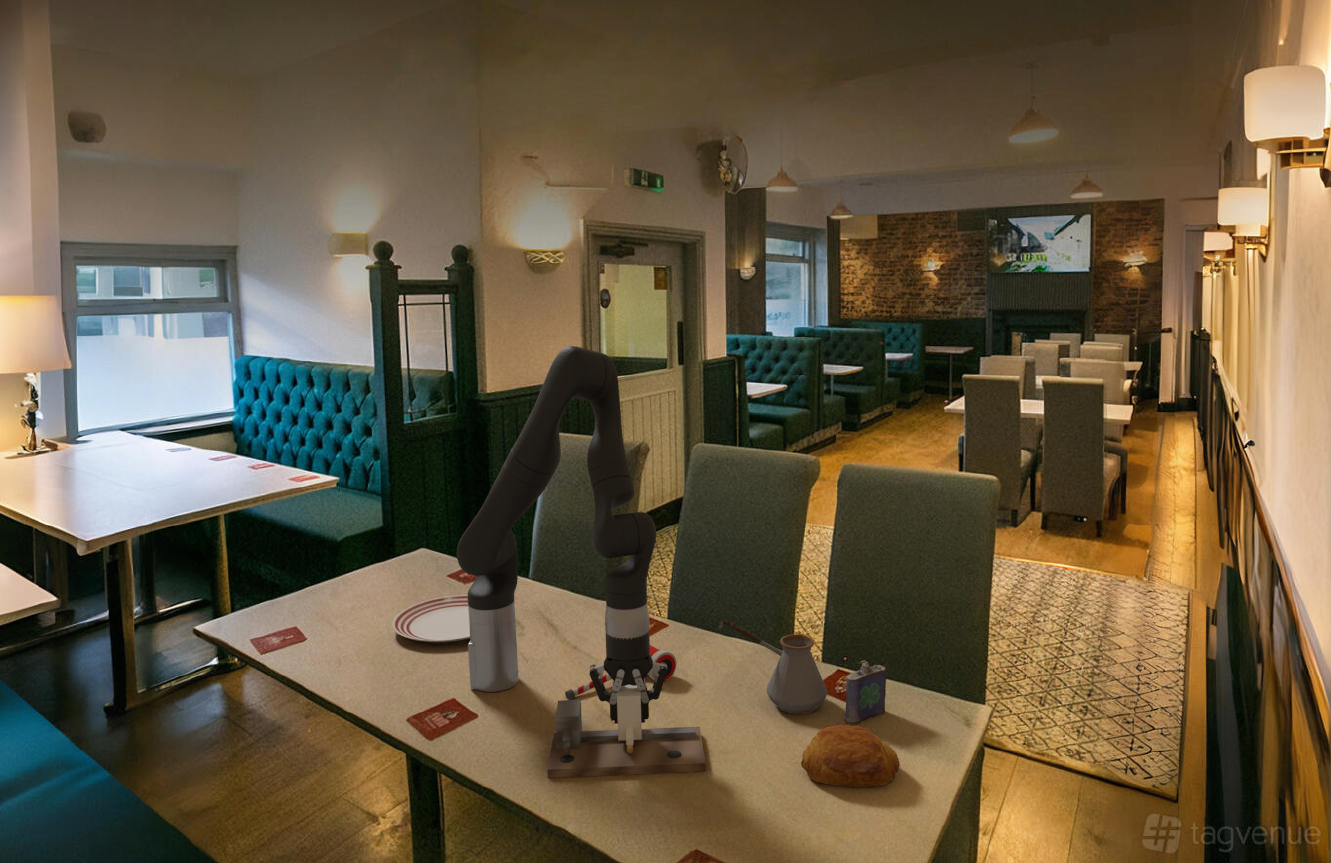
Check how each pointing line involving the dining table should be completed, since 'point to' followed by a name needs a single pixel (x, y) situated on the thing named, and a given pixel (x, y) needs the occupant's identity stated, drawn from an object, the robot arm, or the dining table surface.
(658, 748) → the base
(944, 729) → the dining table surface
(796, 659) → the coffee pot
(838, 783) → the croissant
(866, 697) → the flask
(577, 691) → the toy hammer
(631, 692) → the gauge slider
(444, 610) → the dinner plate
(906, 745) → the dining table surface
